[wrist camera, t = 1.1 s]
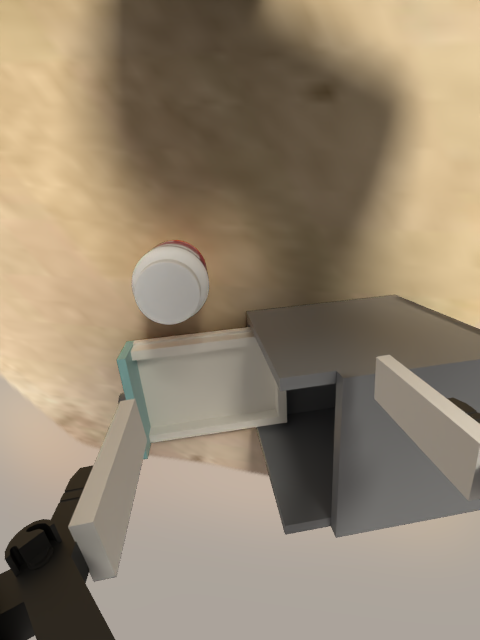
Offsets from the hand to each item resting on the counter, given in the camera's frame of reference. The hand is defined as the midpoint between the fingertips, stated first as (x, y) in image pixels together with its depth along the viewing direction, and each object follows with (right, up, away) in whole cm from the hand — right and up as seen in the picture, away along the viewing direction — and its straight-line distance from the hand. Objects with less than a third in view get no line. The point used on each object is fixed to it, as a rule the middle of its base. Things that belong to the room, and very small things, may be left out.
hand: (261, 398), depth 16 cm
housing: (+9, -1, +21) cm, 23 cm away
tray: (-5, -3, +19) cm, 20 cm away
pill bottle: (-8, +10, +16) cm, 20 cm away
